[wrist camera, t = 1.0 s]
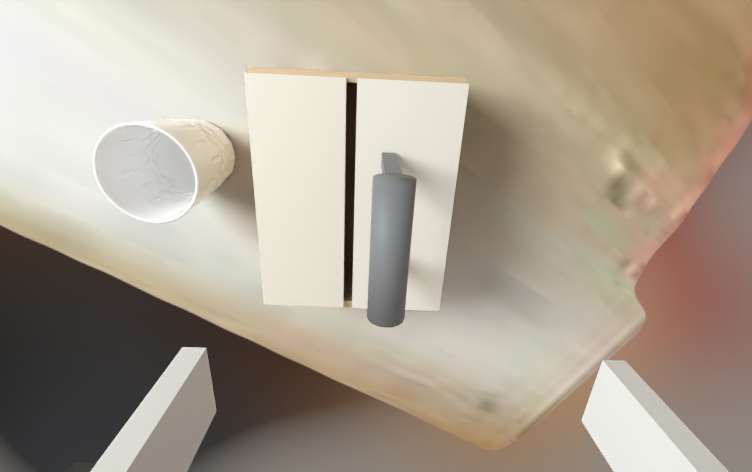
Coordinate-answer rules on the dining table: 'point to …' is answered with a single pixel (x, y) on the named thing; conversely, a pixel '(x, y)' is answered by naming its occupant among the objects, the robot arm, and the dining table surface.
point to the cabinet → (306, 180)
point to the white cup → (161, 166)
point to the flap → (404, 193)
